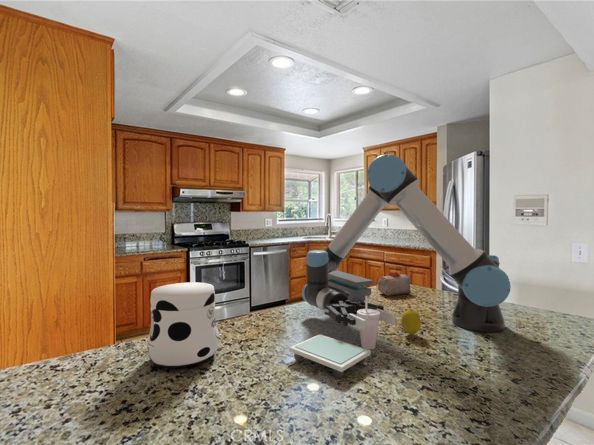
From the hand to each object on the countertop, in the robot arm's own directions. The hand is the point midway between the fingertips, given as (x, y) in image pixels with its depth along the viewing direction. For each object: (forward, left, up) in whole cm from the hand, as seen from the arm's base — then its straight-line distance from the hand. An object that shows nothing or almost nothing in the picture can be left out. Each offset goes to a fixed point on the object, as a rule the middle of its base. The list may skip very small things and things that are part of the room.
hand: (379, 322), depth 87 cm
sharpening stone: (+35, -36, -8) cm, 51 cm away
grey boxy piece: (+27, -62, -8) cm, 68 cm away
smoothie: (+4, -2, -8) cm, 9 cm away
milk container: (+35, +36, -8) cm, 51 cm away
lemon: (-1, -18, -8) cm, 19 cm away
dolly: (+6, +13, -8) cm, 17 cm away
